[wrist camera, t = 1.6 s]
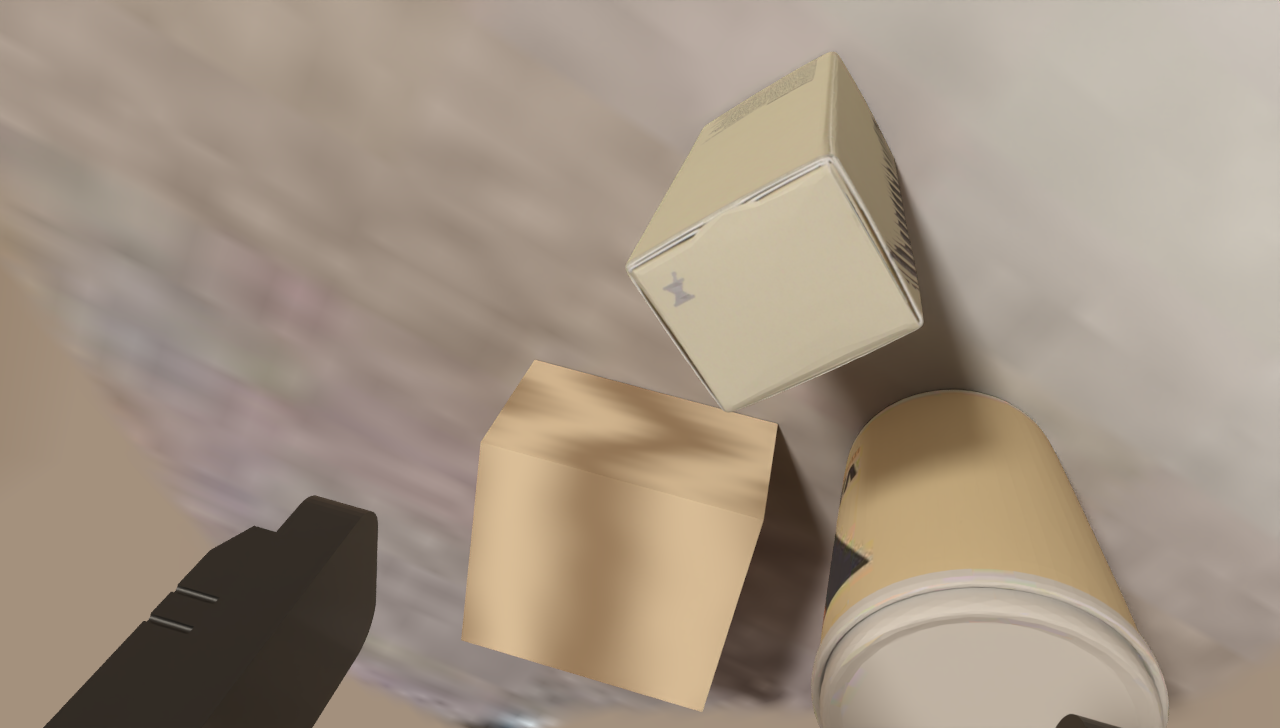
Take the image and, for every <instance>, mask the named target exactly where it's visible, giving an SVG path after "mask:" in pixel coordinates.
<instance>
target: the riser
mask: <svg viewBox="0 0 1280 728" xmlns="http://www.w3.org/2000/svg"><path fill="white" fill-rule="evenodd" d="M777 426H778V424H776V423H772V422H768V421H764V420H760V419H757V418H753V417H749V416H745V415H742V414H738V413H734V412H729V413H728V412H725V411H723V410H722V409H719V408H715V407H711V406H708V405H704V404H700V403H696V402H692V401H689V400H685V399H681V398H677V397H674V396H670V395H666V394H662V393H658V392H655V391H651V390H647V389H643V388H640V387H636V386H632V385H628V384H624V383H621V382H617V381H613V380H609V379H606V378H602V377H598V376H594V375H590V374H587V373H583V372H579V371H575V370H572V369H568V368H564V367H560V366H556V365H553V364H549V363H545V362H541V361H538V360H534V362H533V363H532V365H531V366H530V368H529V369H528V371H527V372H526V374H525V375H524V377H523V379H522V380H521V382H520V383H519V385H518V386H517V388H516V389H515V391H514V392H513V394H512V395H511V397H510V398H509V400H508V401H507V403H506V405H505V406H504V408H503V409H502V411H501V412H500V414H499V415H498V417H497V418H496V420H495V421H494V423H493V424H492V426H491V427H490V429H489V430H488V432H487V434H486V435H485V437H484V438H483V440H482V441H481V446H480V456H479V466H478V476H477V487H476V497H475V507H474V517H473V527H472V537H471V548H470V558H469V568H468V578H467V588H466V598H465V609H464V619H463V629H462V639H461V640H463V641H466V642H469V643H473V644H476V645H479V646H483V647H486V648H490V649H493V650H496V651H500V652H503V653H506V654H510V655H513V656H516V657H520V658H523V659H526V660H530V661H533V662H536V663H540V664H543V665H546V666H550V667H553V668H557V669H560V670H563V671H567V672H570V673H573V674H577V675H580V676H583V677H587V678H590V679H593V680H597V681H600V682H603V683H607V684H610V685H613V686H617V687H620V688H623V689H627V690H630V691H634V692H637V693H640V694H644V695H647V696H650V697H654V698H657V699H660V700H664V701H667V702H670V703H674V704H677V705H680V706H684V707H687V708H690V709H694V710H697V711H700V712H702V711H703V708H704V705H705V702H706V699H707V696H708V693H709V690H710V686H711V683H712V680H713V677H714V674H715V671H716V668H717V665H718V661H719V658H720V655H721V652H722V649H723V646H724V643H725V639H726V636H727V633H728V630H729V627H730V624H731V621H732V618H733V614H734V611H735V608H736V605H737V602H738V599H739V596H740V593H741V589H742V586H743V583H744V580H745V577H746V574H747V571H748V567H749V564H750V561H751V558H752V555H753V552H754V549H755V546H756V542H757V539H758V536H759V533H760V530H761V527H762V524H763V521H764V514H765V507H766V501H767V494H768V487H769V480H770V474H771V467H772V460H773V453H774V447H775V440H776V433H777Z"/></svg>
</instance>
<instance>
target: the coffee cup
mask: <svg viewBox="0 0 1280 728" xmlns="http://www.w3.org/2000/svg"><path fill="white" fill-rule="evenodd" d="M811 695H812V703H813V708H814V713H815V716H816V719H817V722H818V725H819V726H820V728H1056V726H1057V725H1058V723H1059V722H1060V720H1061V719H1062V718H1063V717H1065V716H1066V715H1068V714H1075V715H1079V716H1082V717H1086V718H1089V719H1093V720H1096V721H1100V722H1103V723H1107V724H1110V725H1114V726H1117V727H1121V728H1166V727H1167V723H1168V715H1169V701H1168V693H1167V687H1166V683H1165V680H1164V677H1163V673H1162V671H1161V669H1160V667H1159V664H1158V662H1157V660H1156V658H1155V656H1154V654H1153V652H1152V650H1151V649H1150V647H1149V646H1148V644H1147V643H1146V641H1145V640H1144V638H1143V637H1142V636H1141V635H1140V634H1139V632H1138V630H1137V628H1136V625H1135V623H1134V621H1133V619H1132V616H1131V614H1130V612H1129V609H1128V607H1127V605H1126V602H1125V600H1124V598H1123V596H1122V594H1121V592H1120V589H1119V587H1118V585H1117V583H1116V581H1115V579H1114V576H1113V574H1112V572H1111V570H1110V568H1109V566H1108V563H1107V561H1106V559H1105V557H1104V555H1103V553H1102V550H1101V548H1100V546H1099V544H1098V542H1097V540H1096V537H1095V535H1094V533H1093V531H1092V529H1091V527H1090V525H1089V523H1088V521H1087V518H1086V516H1085V514H1084V512H1083V510H1082V508H1081V506H1080V504H1079V501H1078V499H1077V497H1076V495H1075V493H1074V491H1073V489H1072V487H1071V485H1070V482H1069V480H1068V478H1067V476H1066V474H1065V472H1064V470H1063V468H1062V466H1061V464H1060V462H1059V460H1058V458H1057V456H1056V454H1055V452H1054V450H1053V448H1052V446H1051V444H1050V442H1049V440H1048V439H1047V437H1046V436H1045V434H1044V433H1043V432H1042V430H1041V429H1040V428H1039V426H1038V425H1037V424H1036V423H1035V422H1034V421H1033V420H1032V419H1031V418H1030V417H1029V416H1027V415H1026V414H1025V413H1024V412H1023V411H1021V410H1020V409H1018V408H1016V407H1015V406H1013V405H1012V404H1010V403H1008V402H1006V401H1004V400H1001V399H999V398H997V397H994V396H990V395H987V394H983V393H980V392H974V391H966V390H939V391H930V392H925V393H921V394H917V395H913V396H911V397H908V398H905V399H902V400H900V401H898V402H896V403H894V404H892V405H890V406H888V407H886V408H885V409H884V410H882V411H881V412H880V413H878V414H877V415H876V416H874V417H873V418H872V419H871V420H870V421H869V422H868V423H867V424H866V425H865V426H864V428H863V429H862V430H861V431H860V433H859V434H858V436H857V437H856V439H855V441H854V443H853V445H852V448H851V450H850V453H849V456H848V460H847V465H846V470H845V475H844V480H843V487H842V493H841V500H840V507H839V514H838V520H837V527H836V534H835V541H834V547H833V554H832V561H831V568H830V575H829V583H828V590H827V597H826V604H825V611H824V619H823V627H822V636H821V644H820V647H819V649H818V652H817V655H816V658H815V662H814V667H813V672H812V680H811Z"/></svg>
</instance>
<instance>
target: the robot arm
mask: <svg viewBox="0 0 1280 728" xmlns="http://www.w3.org/2000/svg"><path fill="white" fill-rule="evenodd" d="M377 540H378V520H377V516H376V514H375V513H374V512H372V511H368V510H365V509H361V508H357V507H354V506H350V505H347V504H343V503H340V502H336V501H333V500H329V499H326V498H322V497H319V496H315V495H314V496H310V497H308V498H307V499H305V500H304V501H303V502H302V503H301V504H300V505H299V506H298V508H297V509H296V510H295V511H294V512H293V513H292V514H291V516H290V517H289V518H288V519H287V520H286V521H285V523H284V524H283V525H282V526H281V527H280V528H279V529H278V531H277V532H274V531H270V530H267V529H263V528H260V527H256V526H253V527H251V528H249V529H248V530H246V531H244V532H242V533H240V534H239V535H237V536H235V537H233V538H231V539H230V540H228V541H226V542H224V543H222V544H221V545H219V546H217V547H215V548H213V549H212V550H210V551H209V552H208V553H207V554H206V555H205V556H204V557H203V558H202V559H201V560H200V562H199V563H198V564H197V565H196V566H195V567H194V568H193V569H192V570H191V571H190V572H189V573H188V574H187V575H186V576H185V577H184V579H183V580H182V581H181V582H180V583H179V584H178V587H177V589H176V591H175V592H170V594H169V595H168V596H167V597H166V598H165V599H164V600H163V601H162V602H161V603H160V604H159V605H158V606H157V608H155V609H154V610H153V612H152V613H151V616H150V618H149V620H148V621H147V622H146V621H143V622H142V623H141V624H140V625H139V627H137V629H136V630H135V631H134V632H133V633H132V634H131V635H130V636H129V637H128V638H127V639H126V640H125V641H124V642H123V644H121V646H120V647H119V648H118V649H117V650H116V651H115V652H114V653H113V654H112V655H111V656H110V657H109V659H107V660H106V662H105V663H104V664H103V665H102V666H101V667H100V668H99V669H98V670H97V671H96V672H95V673H94V675H92V677H91V678H90V679H89V680H88V681H87V682H86V683H85V684H84V685H83V686H82V687H81V688H80V689H79V690H78V691H77V693H76V694H75V695H74V696H73V697H72V698H71V699H70V700H69V701H68V702H67V703H66V704H65V705H64V706H63V707H62V708H61V710H60V711H59V712H58V713H57V714H56V715H55V716H54V717H53V718H52V719H51V720H50V721H49V722H48V723H47V724H46V725H45V726H44V727H43V728H312V727H313V726H314V724H315V723H316V721H317V719H318V718H319V716H320V715H321V713H322V711H323V710H324V708H325V707H326V705H327V703H328V702H329V700H330V699H331V697H332V695H333V694H334V692H335V691H336V689H337V688H338V686H339V684H340V683H341V681H342V680H343V678H344V677H345V675H346V673H347V672H348V670H349V669H350V667H351V665H352V664H353V662H354V661H355V659H356V657H357V656H358V654H359V652H360V650H361V648H362V646H363V644H364V642H365V640H366V637H367V635H368V632H369V629H370V626H371V623H372V620H373V616H374V611H375V605H376V578H377ZM1056 728H1121V727H1117V726H1114V725H1110V724H1107V723H1103V722H1100V721H1096V720H1093V719H1089V718H1086V717H1082V716H1079V715H1075V714H1068V715H1066V716H1065V717H1063V718H1062V719H1061V720H1060V722H1059V723H1058V725H1057V726H1056Z"/></svg>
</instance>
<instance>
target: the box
mask: <svg viewBox="0 0 1280 728" xmlns="http://www.w3.org/2000/svg"><path fill="white" fill-rule="evenodd" d="M626 271H627V273H628V275H629V277H630V279H631V281H632V282H633V283H634V285H635V286H636V288H637V289H638V291H639V292H640V294H641V295H642V297H643V298H644V300H645V301H646V303H647V304H648V306H649V307H650V309H651V310H652V311H653V313H654V314H655V316H656V317H657V319H658V321H659V322H660V324H661V325H662V327H663V328H664V330H665V331H666V332H667V334H668V335H669V337H670V338H671V339H672V341H673V342H674V344H675V345H676V347H677V348H678V350H679V351H680V353H681V354H682V356H683V357H684V359H685V360H686V361H687V363H688V364H689V365H690V367H691V368H692V369H693V371H694V372H695V374H696V375H697V377H698V378H699V379H700V381H701V382H702V384H703V385H704V386H705V388H706V389H707V390H708V392H709V393H710V395H711V396H712V397H713V399H714V400H715V401H716V403H717V404H718V405H719V406H720V408H721V409H722V410H723V411H725V412H728V413H729V412H734V411H737V410H740V409H742V408H745V407H747V406H750V405H752V404H755V403H757V402H760V401H762V400H764V399H767V398H769V397H772V396H774V395H776V394H779V393H781V392H783V391H785V390H788V389H790V388H792V387H795V386H797V385H799V384H802V383H804V382H806V381H808V380H811V379H813V378H816V377H818V376H820V375H823V374H825V373H827V372H829V371H831V370H834V369H836V368H838V367H840V366H842V365H845V364H847V363H849V362H851V361H853V360H855V359H858V358H860V357H862V356H864V355H867V354H869V353H871V352H873V351H875V350H877V349H879V348H881V347H883V346H885V345H887V344H889V343H891V342H893V341H895V340H897V339H899V338H901V337H903V336H905V335H907V334H910V333H912V332H914V331H916V330H918V329H919V328H920V327H922V326H923V323H924V319H923V311H922V305H921V297H920V291H919V286H918V279H917V275H916V269H915V263H914V258H913V253H912V249H911V244H910V239H909V235H908V230H907V225H906V220H905V215H904V210H903V204H902V200H901V193H900V187H899V182H898V177H897V171H896V166H895V160H894V157H893V155H892V153H891V151H890V149H889V147H888V145H887V143H886V141H885V139H884V137H883V135H882V133H881V131H880V129H879V127H878V125H877V123H876V121H875V119H874V117H873V115H872V113H871V111H870V109H869V107H868V105H867V103H866V101H865V100H864V98H863V96H862V94H861V92H860V91H859V89H858V87H857V85H856V83H855V82H854V80H853V78H852V76H851V75H850V73H849V71H848V70H847V68H846V66H845V65H844V63H843V61H842V60H841V58H840V57H839V55H838V54H837V53H836V52H829V53H826V54H824V55H822V56H821V57H819V58H817V59H815V60H813V61H811V62H810V63H808V64H806V65H804V66H802V67H801V68H799V69H797V70H795V71H793V72H792V73H790V74H788V75H787V76H785V77H783V78H782V79H780V80H778V81H777V82H775V83H773V84H772V85H770V86H768V87H766V88H765V89H763V90H762V91H760V92H758V93H757V94H755V95H753V96H752V97H750V98H748V99H747V100H745V101H744V102H742V103H740V104H739V105H737V106H736V107H734V108H733V109H731V110H729V111H728V112H726V113H724V114H723V115H721V116H720V117H718V118H717V119H715V120H713V121H712V122H710V123H709V124H707V125H706V126H705V127H704V128H703V129H702V131H701V133H700V135H699V137H698V138H697V140H696V142H695V144H694V146H693V147H692V149H691V151H690V153H689V155H688V156H687V158H686V160H685V162H684V164H683V165H682V167H681V169H680V171H679V172H678V174H677V176H676V177H675V179H674V181H673V183H672V184H671V186H670V188H669V190H668V192H667V193H666V195H665V197H664V198H663V200H662V202H661V203H660V205H659V207H658V209H657V211H656V212H655V214H654V216H653V218H652V219H651V221H650V223H649V225H648V226H647V228H646V230H645V232H644V234H643V236H642V237H641V239H640V241H639V242H638V244H637V246H636V248H635V249H634V251H633V253H632V255H631V256H630V258H629V260H628V262H627V264H626Z"/></svg>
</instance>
